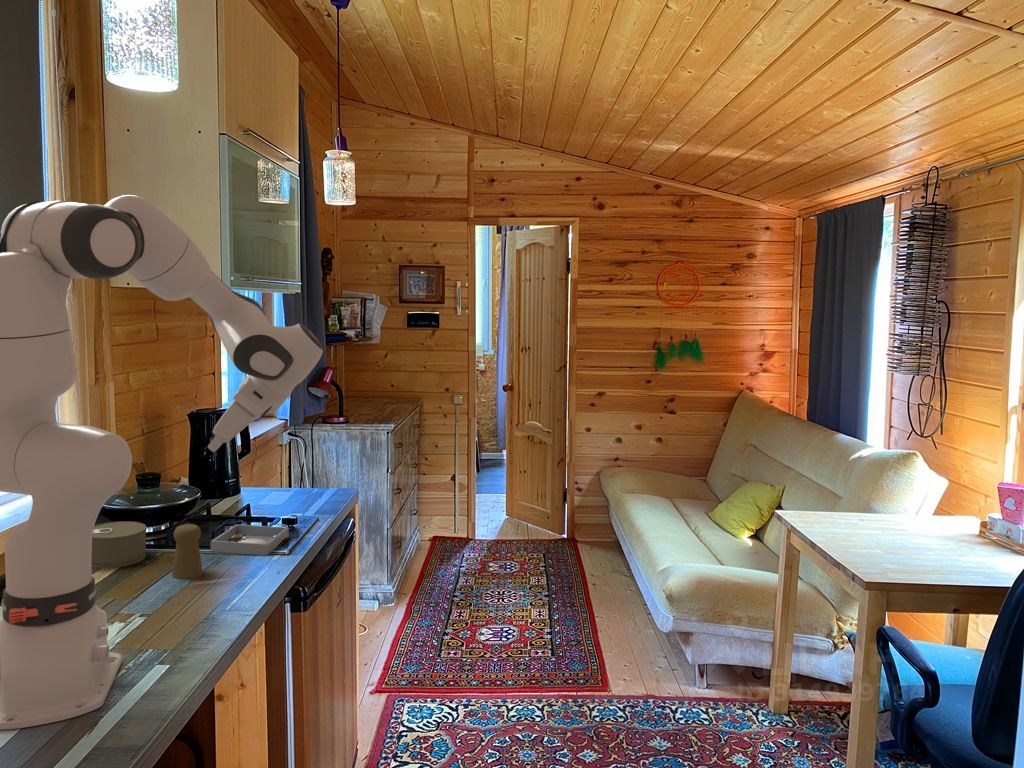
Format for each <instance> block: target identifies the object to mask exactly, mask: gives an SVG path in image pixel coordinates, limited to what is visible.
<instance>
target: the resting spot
mask: <svg viewBox="0 0 1024 768" xmlns="http://www.w3.org/2000/svg"><path fill="white" fill-rule="evenodd" d="M238 542H245V543H261V544H266V543H267V542H266V541H265V540H263V539H245V540H241V541H238Z"/></svg>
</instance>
